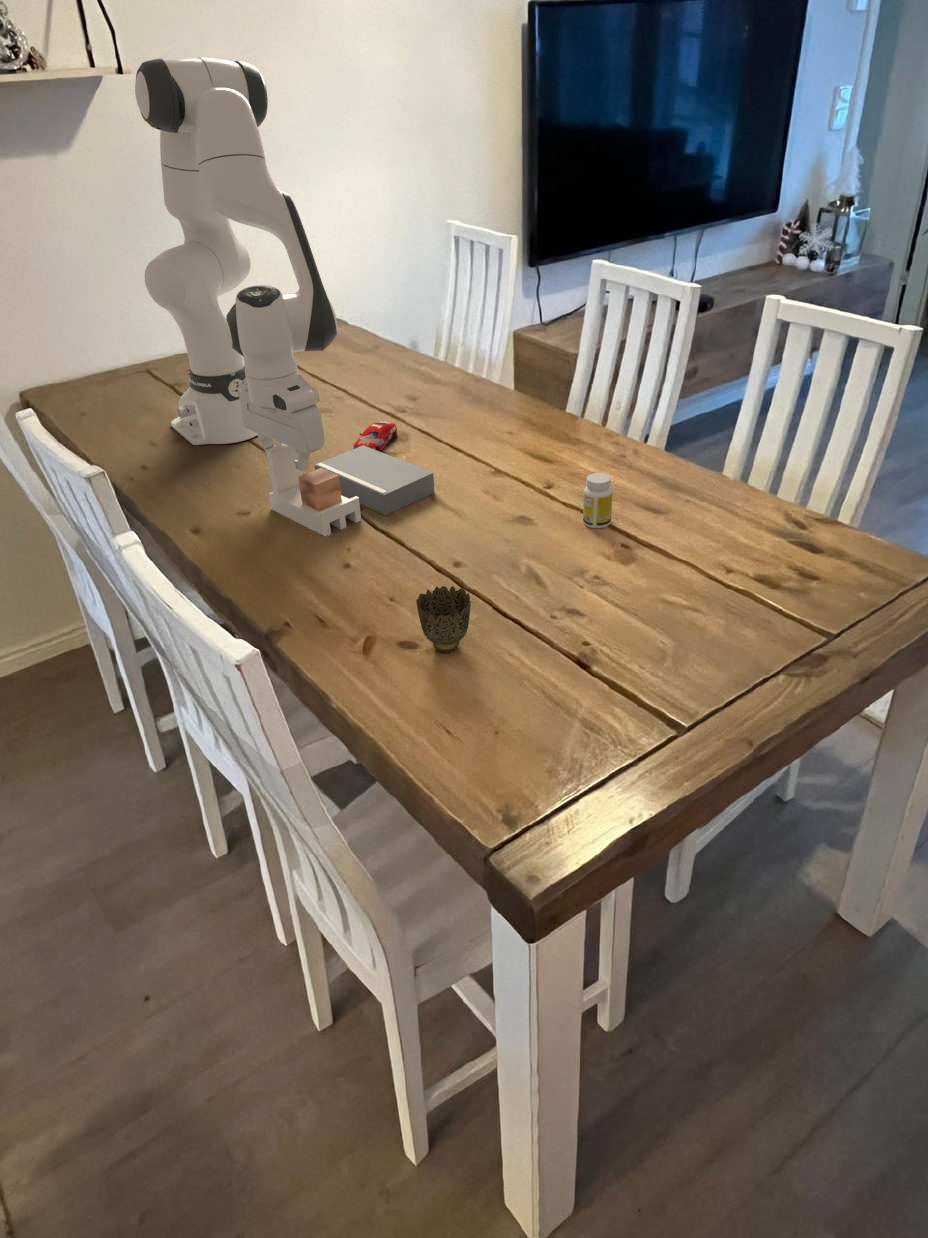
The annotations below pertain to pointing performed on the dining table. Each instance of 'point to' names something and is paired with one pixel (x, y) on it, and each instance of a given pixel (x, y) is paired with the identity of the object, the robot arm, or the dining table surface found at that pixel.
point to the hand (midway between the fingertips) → (287, 462)
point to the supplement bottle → (597, 501)
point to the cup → (444, 616)
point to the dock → (379, 479)
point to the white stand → (289, 496)
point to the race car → (377, 435)
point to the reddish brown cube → (320, 489)
